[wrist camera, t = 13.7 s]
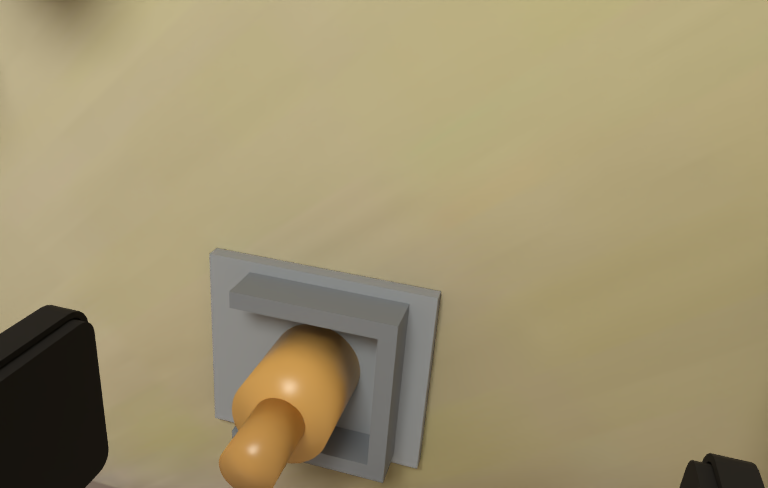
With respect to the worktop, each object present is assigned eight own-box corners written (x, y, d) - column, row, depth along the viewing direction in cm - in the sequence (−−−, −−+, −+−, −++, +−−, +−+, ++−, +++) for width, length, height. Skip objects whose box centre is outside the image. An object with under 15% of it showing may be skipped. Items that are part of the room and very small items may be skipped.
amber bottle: (363, 334, 45) (302, 439, 35) (357, 411, 47) (299, 528, 38) (274, 315, 46) (192, 411, 36) (273, 391, 49) (196, 499, 39)
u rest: (441, 291, 43) (428, 321, 39) (420, 459, 49) (407, 498, 45) (216, 248, 46) (186, 271, 43) (221, 410, 52) (195, 442, 49)
